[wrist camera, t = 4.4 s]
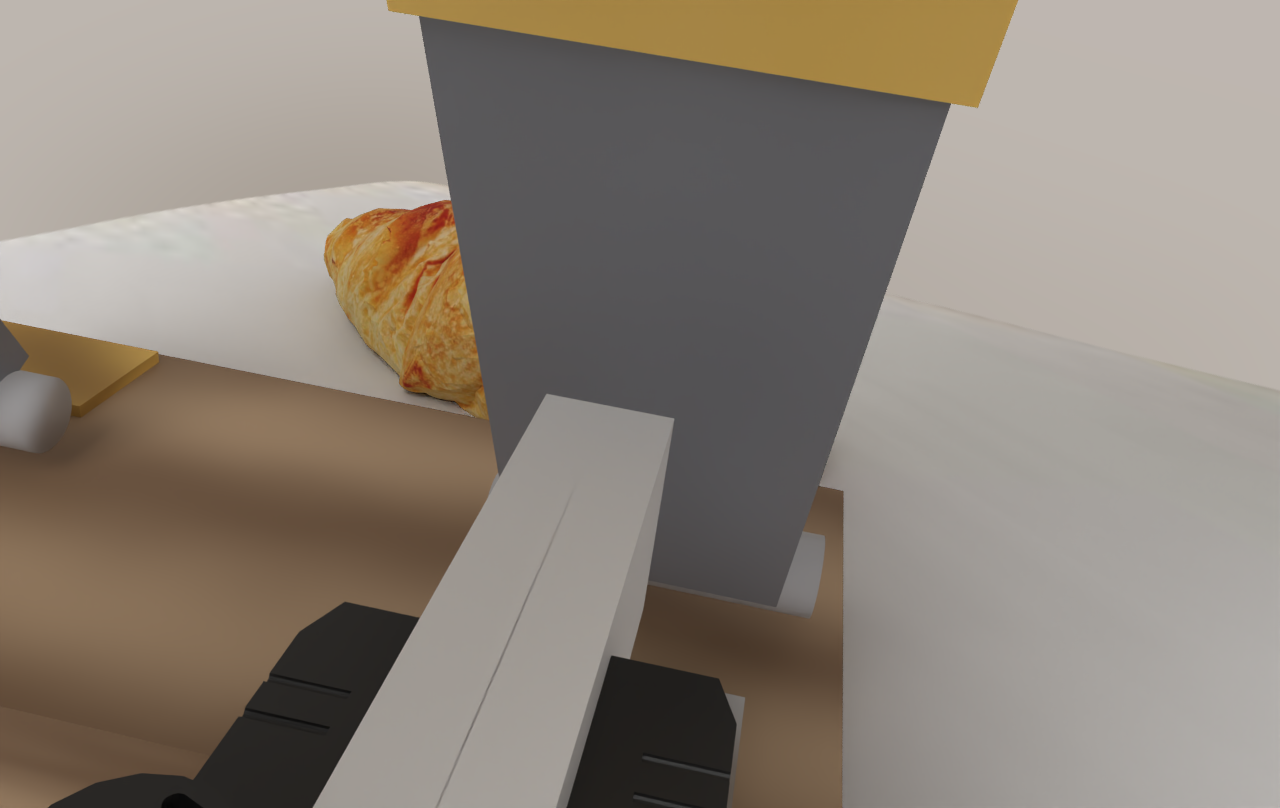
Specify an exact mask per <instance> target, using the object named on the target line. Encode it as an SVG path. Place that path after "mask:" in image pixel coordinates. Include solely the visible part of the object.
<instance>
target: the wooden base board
mask: <svg viewBox="0 0 1280 808" xmlns="http://www.w3.org/2000/svg"><path fill="white" fill-rule="evenodd" d="M1 321H2V320H1ZM2 322H3V323H4V325H5V326H6V327H7V328H8V330H9V331H10V332H11V333H12V335H13V336H14V337H15V339H16V340H17V341H18V342H19V344H20V345H21V346H22V348H23V349H24V350H25V351H26V353H27V354H28V355H29V357H28V359H27V360H26V362H25V363H24V365H23V366H22V368H21V369H20V370H23V371H27V372H32V373H37V374H42V375H47V376H52V377H57V378H59V379H61V380H63V381H64V382H65V383H66V385H67V386H68V388H69V391H70V394H71V400H72V409H71V416H70V420H69V424H68V426H67V429H66V431H65V433H64V435H63V436H62V438H61V439H60V441H59V442H58V443H57V444H56V445H55V446H54V447H53V448H52V449H50V450H48V451H46V452H44V453H32V452H27V451H23V450H18V449H13V448H8V447H4V446H0V808H48V807H49V806H50V805H51V804H53V803H55V802H57V801H59V800H61V799H63V798H65V797H67V796H69V795H71V794H74V793H76V792H78V791H80V790H82V789H84V788H86V787H88V786H90V785H92V784H94V783H97V782H101V781H106V780H111V779H115V778H120V777H125V776H130V775H134V774H139V773H148V774H163V775H178V776H185V777H187V778H189V779H192V780H193V779H194V778H195V777H196V775H197V774H198V772H199V771H200V770H201V768H202V767H203V765H204V764H205V763H206V761H207V760H208V758H209V757H210V756H211V754H212V753H213V751H214V750H215V749H216V747H217V746H218V744H219V743H220V742H221V740H222V739H223V737H224V736H225V735H226V733H227V732H228V730H229V729H230V728H231V726H232V725H233V723H234V722H235V721H236V719H237V718H238V716H240V717H242V716H243V714H244V711H245V707H246V705H247V704H248V702H249V701H250V700H251V698H252V697H253V695H254V694H255V693H256V691H257V690H258V688H259V687H260V686H261V684H262V683H263V681H266V682H267V680H268V678H269V673H270V672H271V670H272V669H273V667H274V666H275V665H276V663H277V662H278V660H279V659H280V658H281V656H282V655H283V653H284V652H285V651H286V649H287V648H288V646H289V645H290V644H291V642H292V641H293V639H294V638H295V637H296V635H297V634H298V632H299V631H301V630H302V629H304V628H305V627H307V626H308V625H310V624H312V623H313V622H315V621H316V620H318V619H319V618H321V617H322V616H324V615H325V614H327V613H328V612H330V611H331V610H333V609H334V608H336V607H337V606H339V605H340V604H342V603H344V602H349V603H354V604H359V605H363V606H368V607H373V608H377V609H382V610H387V611H391V612H396V613H400V614H405V615H410V616H414V617H419V618H420V617H421V615H422V613H423V612H424V610H425V608H426V606H427V605H428V603H429V601H430V599H431V598H432V596H433V594H434V592H435V590H436V589H437V587H438V585H439V583H440V582H441V580H442V578H443V576H444V575H445V573H446V571H447V569H448V567H449V566H450V564H451V562H452V560H453V559H454V557H455V555H456V553H457V551H458V550H459V548H460V546H461V544H462V543H463V541H464V539H465V537H466V536H467V534H468V532H469V530H470V528H471V527H472V525H473V523H474V521H475V520H476V518H477V516H478V514H479V513H480V511H481V509H482V507H483V505H484V504H485V502H486V500H487V498H488V495H489V492H490V489H491V486H492V483H493V481H494V479H495V477H496V475H497V473H498V468H497V462H496V456H495V450H494V445H493V439H492V433H491V427H490V422H489V420H485V419H480V418H475V417H470V416H465V415H460V414H455V413H450V412H445V411H440V410H435V409H430V408H425V407H420V406H415V405H410V404H405V403H400V402H395V401H390V400H385V399H380V398H375V397H370V396H365V395H360V394H355V393H350V392H345V391H340V390H335V389H330V388H325V387H320V386H315V385H310V384H305V383H300V382H295V381H290V380H285V379H280V378H275V377H270V376H265V375H260V374H255V373H250V372H245V371H240V370H235V369H230V368H225V367H220V366H215V365H210V364H205V363H200V362H195V361H190V360H185V359H180V358H175V357H170V356H165V355H160V354H158V352H157V351H152V350H147V349H142V348H137V347H132V346H127V345H122V344H117V343H112V342H107V341H102V340H97V339H92V338H87V337H82V336H77V335H72V334H67V333H62V332H57V331H52V330H47V329H42V328H37V327H32V326H27V325H22V324H17V323H12V322H7V321H2ZM803 531H804V532H809V533H814V534H818V535H823V536H825V552H824V560H823V567H822V573H821V579H820V584H819V589H818V594H817V598H816V602H815V606H814V609H813V612H812V615H811V617H810V618H809V619H808V618H803V617H799V616H794V615H789V614H784V613H780V612H775V611H770V610H766V609H761V608H756V607H751V606H747V605H742V604H737V603H732V602H728V601H723V600H718V599H714V598H709V597H704V596H699V595H695V594H690V593H685V592H681V591H676V590H671V589H666V588H662V587H657V586H652V585H647V590H646V596H645V602H644V608H643V612H642V616H641V619H640V623H639V627H638V631H637V634H636V638H635V642H634V645H633V649H632V653H631V657H630V659H631V660H635V661H640V662H645V663H649V664H654V665H659V666H663V667H668V668H673V669H677V670H682V671H687V672H691V673H696V674H700V675H705V676H710V677H714V678H719V680H720V682H721V685H722V687H723V690H724V692H725V695H726V697H727V700H728V703H729V705H730V708H731V710H732V713H733V715H734V718H735V720H736V723H737V727H736V736H735V744H734V752H733V760H732V768H731V775H730V781H729V782H730V785H729V793H728V801H727V808H842V713H843V491H840V490H835V489H830V488H825V487H820V486H818V489H817V491H816V494H815V497H814V500H813V503H812V506H811V509H810V512H809V514H808V517H807V520H806V523H805V526H804V529H803Z"/></svg>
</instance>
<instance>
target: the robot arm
mask: <svg viewBox="0 0 1280 808" xmlns="http://www.w3.org/2000/svg"><path fill="white" fill-rule="evenodd" d="M673 424H674V418H669V417H664V416H659V415H654V414H649V413H643V412H638V411H633V410H628V409H623V408H618V407H612V406H607V405H602V404H597V403H592V402H587V401H581V400H576V399H571V398H566V397H561V396H556V395H551V394H546V396H545V397H544V399H543V401H542V403H541V405H540V406H539V408H538V410H537V412H536V413H535V415H534V417H533V419H532V420H531V422H530V424H529V426H528V428H527V429H526V431H525V433H524V435H523V436H522V438H521V440H520V442H519V443H518V445H517V447H516V449H515V451H514V452H513V454H512V456H511V458H510V459H509V461H508V463H507V465H506V467H505V468H504V470H503V472H502V474H501V475H500V477H499V479H498V481H497V482H496V484H495V486H494V488H493V490H492V491H491V493H490V495H489V497H488V498H487V500H486V502H485V504H484V505H483V507H482V509H481V511H480V513H479V514H478V516H477V518H476V520H475V521H474V523H473V525H472V527H471V528H470V530H469V532H468V534H467V536H466V537H465V539H464V541H463V543H462V544H461V546H460V548H459V550H458V551H457V553H456V555H455V557H454V559H453V560H452V562H451V564H450V566H449V567H448V569H447V571H446V573H445V575H444V576H443V578H442V580H441V582H440V583H439V585H438V587H437V589H436V590H435V592H434V594H433V596H432V598H431V599H430V601H429V603H428V605H427V606H426V608H425V610H424V612H423V613H422V615H421V617H420V618H419V617H414V616H410V615H405V614H400V613H396V612H391V611H387V610H382V609H377V608H373V607H368V606H363V605H359V604H354V603H349V602H344V603H342V604H340V605H339V606H337V607H336V608H334V609H333V610H331V611H330V612H328V613H327V614H325V615H324V616H322V617H321V618H319V619H318V620H316V621H315V622H313V623H312V624H310V625H308V626H307V627H305V628H304V629H302V630H301V631H299V632H298V634H297V635H296V637H295V638H294V639H293V641H292V642H291V644H290V645H289V646H288V648H287V649H286V651H285V652H284V653H283V655H282V656H281V658H280V659H279V660H278V662H277V663H276V665H275V666H274V667H273V669H272V670H271V672H270V673H269V678H268V680H267V682H266V681H263V683H262V684H261V686H260V687H259V688H258V690H257V691H256V693H255V694H254V695H253V697H252V698H251V700H250V701H249V702H248V704H247V705H246V707H245V711H244V714H243V716H242V717H240V716H238V718H237V719H236V721H235V722H234V723H233V725H232V726H231V728H230V729H229V730H228V732H227V733H226V735H225V736H224V737H223V739H222V740H221V742H220V743H219V744H218V746H217V747H216V749H215V750H214V751H213V753H212V754H211V756H210V757H209V758H208V760H207V761H206V763H205V764H204V765H203V767H202V768H201V770H200V771H199V772H198V774H197V775H196V777H195V778H194V779H193V780H192V779H189V778H187V777H185V776H178V775H163V774H148V773H139V774H134V775H130V776H125V777H120V778H115V779H111V780H106V781H101V782H97V783H94V784H92V785H90V786H88V787H86V788H84V789H82V790H80V791H78V792H76V793H74V794H71V795H69V796H67V797H65V798H63V799H61V800H59V801H57V802H55V803H53V804H51V805H50V806H49V807H48V808H727V801H728V793H729V785H730V782H729V781H730V775H731V768H732V760H733V752H734V744H735V736H736V727H737V723H736V720H735V718H734V715H733V713H732V710H731V708H730V705H729V703H728V700H727V697H726V695H725V692H724V690H723V687H722V685H721V682H720V680H719V678H714V677H710V676H705V675H700V674H696V673H691V672H687V671H682V670H677V669H673V668H668V667H663V666H659V665H654V664H649V663H645V662H640V661H635V660H631V659H630V657H631V653H632V649H633V645H634V642H635V638H636V634H637V631H638V627H639V623H640V619H641V616H642V612H643V608H644V602H645V596H646V590H647V584H648V577H649V571H650V565H651V559H652V553H653V547H654V541H655V535H656V528H657V522H658V516H659V510H660V504H661V498H662V492H663V486H664V479H665V473H666V467H667V461H668V455H669V449H670V443H671V437H672V430H673Z"/></svg>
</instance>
